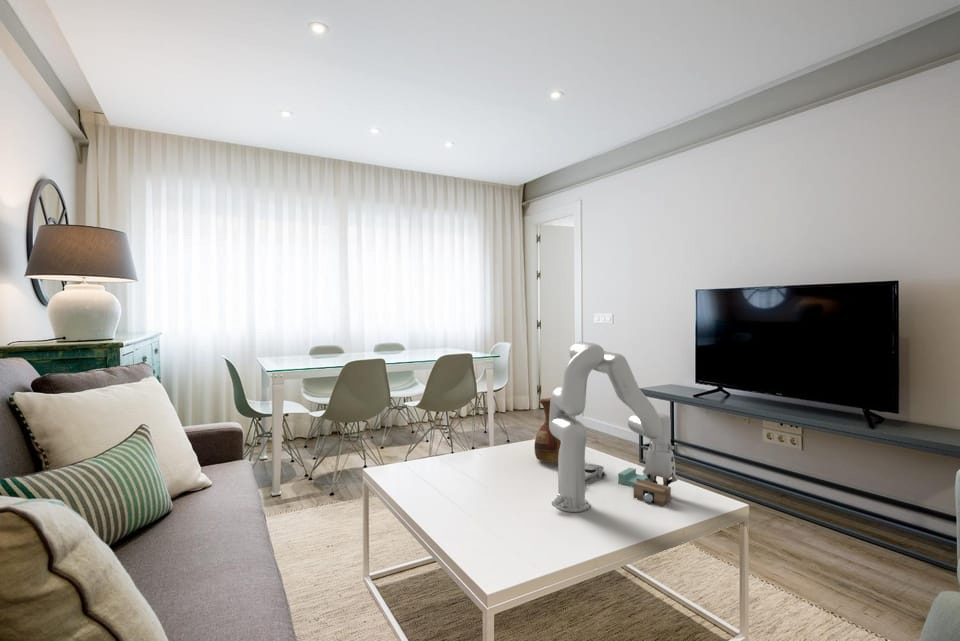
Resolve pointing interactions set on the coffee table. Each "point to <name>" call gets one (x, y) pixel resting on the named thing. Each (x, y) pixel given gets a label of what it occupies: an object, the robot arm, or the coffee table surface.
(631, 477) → the v block
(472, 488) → the coffee table surface
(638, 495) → the wooden bridge block
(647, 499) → the axle
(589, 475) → the car model
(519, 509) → the coffee table surface
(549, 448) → the ceramic pitcher
